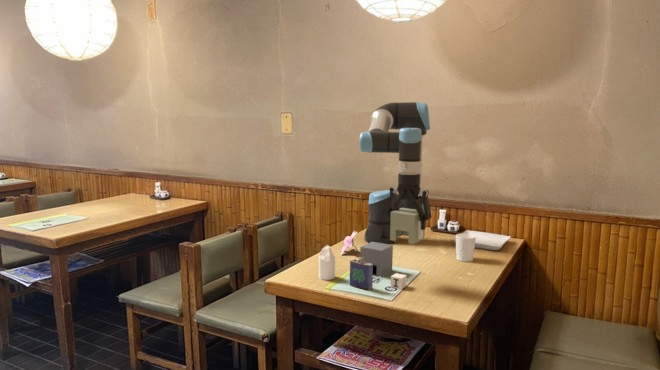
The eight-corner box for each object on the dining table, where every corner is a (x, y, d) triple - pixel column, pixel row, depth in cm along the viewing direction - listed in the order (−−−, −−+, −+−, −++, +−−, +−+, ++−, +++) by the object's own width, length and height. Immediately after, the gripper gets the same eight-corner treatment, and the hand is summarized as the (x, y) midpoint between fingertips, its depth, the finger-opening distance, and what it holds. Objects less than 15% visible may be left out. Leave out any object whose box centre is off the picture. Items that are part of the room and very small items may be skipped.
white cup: (475, 263, 200) (476, 238, 198) (455, 261, 201) (456, 237, 200) (473, 257, 207) (474, 234, 206) (454, 256, 209) (455, 233, 207)
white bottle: (318, 247, 177) (318, 243, 183) (318, 280, 179) (318, 274, 185) (335, 247, 177) (334, 243, 183) (335, 280, 179) (334, 274, 185)
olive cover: (390, 240, 173) (390, 212, 172) (401, 234, 181) (402, 207, 179) (413, 244, 169) (414, 215, 167) (424, 238, 176) (425, 210, 174)
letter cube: (390, 287, 172) (390, 276, 171) (395, 284, 175) (396, 273, 175) (400, 289, 170) (401, 278, 169) (406, 286, 173) (406, 275, 173)
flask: (373, 288, 170) (374, 258, 169) (369, 291, 168) (369, 260, 166) (352, 283, 176) (352, 253, 174) (347, 285, 174) (347, 255, 172)
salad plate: (500, 253, 214) (500, 246, 213) (452, 246, 225) (452, 239, 224) (511, 242, 231) (511, 235, 231) (466, 236, 242) (466, 229, 242)
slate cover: (360, 272, 187) (360, 246, 186) (371, 266, 195) (371, 241, 193) (381, 277, 182) (381, 250, 181) (392, 270, 190) (392, 245, 188)
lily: (347, 249, 222) (337, 232, 219) (370, 242, 217) (360, 224, 214) (340, 265, 212) (330, 247, 209) (364, 257, 206) (353, 239, 204)
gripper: (376, 171, 174) (375, 234, 177) (435, 176, 162) (432, 243, 166) (386, 169, 180) (384, 229, 184) (443, 174, 168) (440, 238, 172)
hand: (407, 236), depth 175 cm, fingers closed on olive cover, 9 cm apart
